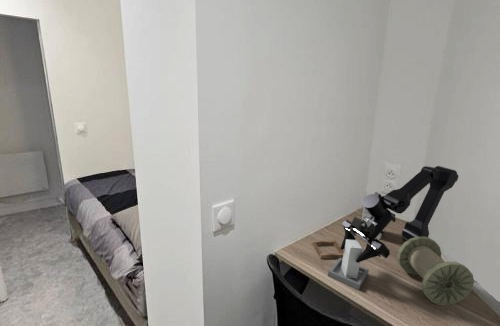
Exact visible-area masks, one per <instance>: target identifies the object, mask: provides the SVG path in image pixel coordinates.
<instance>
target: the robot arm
mask: <svg viewBox="0 0 500 326" xmlns="http://www.w3.org/2000/svg"><path fill="white" fill-rule="evenodd" d="M458 180H459V175H458V171H456V170H455V169H452V168H448V167H446V166H445V167H444V166H440V165H437V166H427V165H426V166H423V167H422V168H421V170H420V171H419V172H418V173H417V174H415V175H414V176H413V177H412V178H410V180H409V181H407V182H405V184H404V185H402V186H401V187H400V188H397V189H393V190H391V191H389V192H388V193H385V195H382V194H380V193H378V192H374V193H373V194H368V195H366V196H364V197H363V199H362V203H361V204H362V206H363V208H364V207H365V208H366V210H367V211H368V212H369V214H370V215H371V217H370V219H368V218H366V219H365V220H362V218H360V217H357V216H354V218H353V219H352V221H350V220H348V219H346V220H344V221H342V223H341V227H343V230H344V233H345V234H344V237H343V240H342V243H341V245H340V247H341V248H340V249H341V250H343V251H344V248H345V243H346V239H348V240H357V238H356V237H355V236H357V237H359V238H360V239H361V240H363V241H364V242H366V245H365V249H363V250H362V253H361V255H360V256H359V257H358V258H357V260H356V262H357V263H359V262H360V263H361V262H364V261H366V260H369V259H373V258H375V257H379V258H381V257H384V258H385V259H387V258H388V257H389V256H390V254H391V252H390V251H391V250H390V249H389V247H387V246H386V244H385V243H384V242H382V241H380V239H376V237H377V236H378V235H379V234H380V233H381V234H382V235H383V234H384V233H385V232H383V229H384V230H385V229H386V227H387V226H388V225H389V224H390V223H391V222H393V223H395V222H396V220H397V219H396V214H400V215H401V214H402V213H404V212H405V211H406V210H407V209H408V208H409V207H410V206H411V203H412V199H413V198H414V197H415V196H416V195H418V194H419V192H421V191H422V190H423V189H424V188H425V187H427V186H428V185H429V188H428V190H427V193H426V194H425V197H424V198H423V200H422V202H421V205H420V207H419V209H418V210H417V212H416V215H415V217H414V219H412V220H411V221H410V222H409V221H407V222H406V223H405V224H404V227H403V228H402V230H401V238H402V241H403V242H404V243H405V242H406V241H408V240H409V239H411V238H415V237H418V236H420V237H428V238H429V235H430V231H429V230H430V229H429V224H430V222H431V221H432V220H431V219H432V218H433V215H434V214H435V212H436V210H437V208H438V207H439V204H440V201H441V200H442V197H443V196H444V193H445V192H447V191H449V190H450V189H451V188H453V186H454V185H455V183H457V182H458ZM387 208H388V209H387ZM391 211H392V212H391ZM393 212H394V213H393ZM395 213H396V214H395Z"/></svg>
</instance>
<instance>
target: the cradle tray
mask: <svg viewBox="0 0 500 326" xmlns="http://www.w3.org/2000/svg"><path fill="white" fill-rule="evenodd" d="M342 260H343V258H337V260H336V262H335V263H334V264H333V265H332V266H331V267H330V269H329V270H328V272H327V277H329V278H332V279H334V280H336V281H338V282H340V283H343V284H345V285H346V286H348V287H350V288H353V289H355V290H358V291H359V290H361V289H360V288H361V287H362V285H363V284H364V282H365V280H366V279H367V277H368V275H369V271H370V270H369V269H368V268H366V267H363V266H361V265H359V270H358V276H357V279H355V278H347V277H345V275H344V273H343V271H342V268H341V266H342Z"/></svg>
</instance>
